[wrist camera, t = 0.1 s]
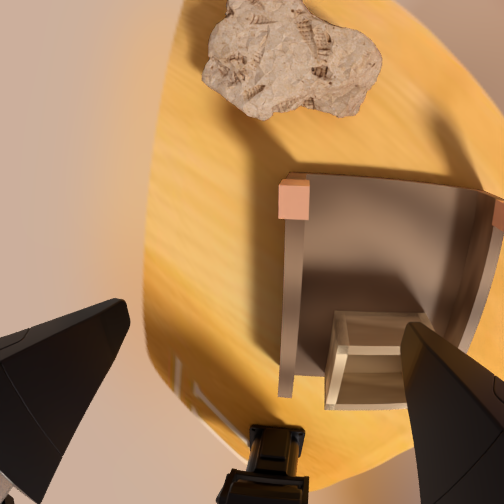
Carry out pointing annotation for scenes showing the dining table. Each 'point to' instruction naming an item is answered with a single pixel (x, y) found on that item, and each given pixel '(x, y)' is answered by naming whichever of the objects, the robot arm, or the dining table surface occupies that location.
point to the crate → (367, 360)
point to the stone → (288, 60)
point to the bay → (381, 258)
